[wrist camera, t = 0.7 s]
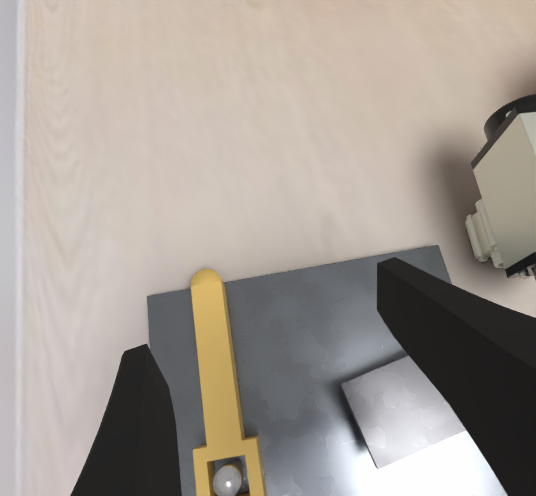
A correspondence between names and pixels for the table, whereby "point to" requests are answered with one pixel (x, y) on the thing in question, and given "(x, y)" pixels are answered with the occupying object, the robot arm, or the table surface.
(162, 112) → the table surface
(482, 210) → the pneumatic valve
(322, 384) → the base
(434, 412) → the keeper
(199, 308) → the lever
